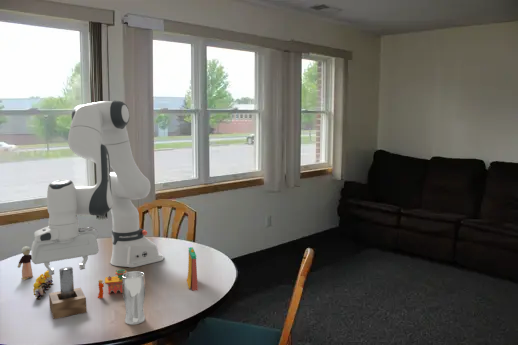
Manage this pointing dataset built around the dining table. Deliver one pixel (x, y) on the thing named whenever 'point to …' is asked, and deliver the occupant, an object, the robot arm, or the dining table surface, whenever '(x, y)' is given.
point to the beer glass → (134, 296)
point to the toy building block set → (116, 281)
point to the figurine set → (42, 284)
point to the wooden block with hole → (67, 304)
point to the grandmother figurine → (26, 263)
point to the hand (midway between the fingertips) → (67, 271)
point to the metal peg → (66, 283)
